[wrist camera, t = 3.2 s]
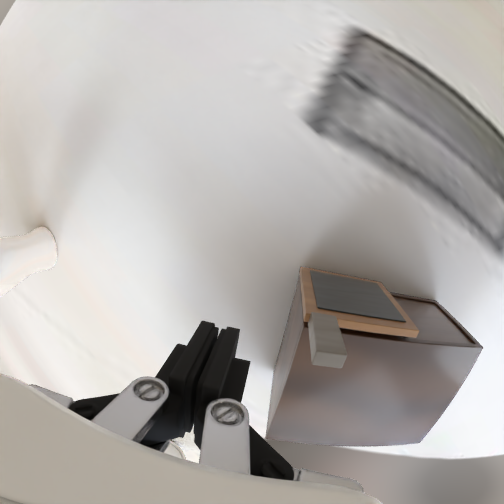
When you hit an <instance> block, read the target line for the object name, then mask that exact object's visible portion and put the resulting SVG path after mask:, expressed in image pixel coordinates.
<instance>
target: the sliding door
mask: <svg viewBox="0 0 504 504" xmlns="http://www.w3.org/2000/svg"><path fill="white" fill-rule="evenodd" d="M299 273H300V283H301V294H302V306H303V318H304V322H308V329H309V339H310V349H311V361H312V364H313V365H319V366H326V367H334V368H342V367H343V364H344V362H345V360H346V357H347V352H346V348H345V345H344V341H343V338H342V335H341V331H340V328H346V329H352V330H359V331H366V332H373V333H381V334H388V335H396V336H405V337H413V338H416V337H417V335H418V333H419V329H418V328H417V327H416V325H415V324H414V323H413V322H412V320H411V319H410V318H409V316H408V315H407V314H406V313H405V311H404V310H403V309H402V307H401V306H400V305H399V304H398V302H397V301H396V300H395V299H394V298H393V296H392V295H391V294H390V293H389V291H388V290H387V289H386V288H385V287H384V285H383V284H382V283H381V282H377V281H372V280H367V279H362V278H357V277H352V276H347V275H342V274H337V273H332V272H327V271H322V270H317V269H312V268H307V267H302V266H301V267H300V271H299Z"/></svg>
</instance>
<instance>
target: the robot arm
mask: <svg viewBox="0 0 504 504" xmlns="http://www.w3.org/2000/svg"><path fill="white" fill-rule="evenodd" d="M218 330H219V328H217V327H215V324H214V323H210V322H206V321H202V322H201V323H200V325H199V327H198V328H197V330H196V332H195V333H194V335H193V336H192V338H191V340H190V341H189V343H188V345H187V346H185V345H182V344H177V345H176V347H175V348H174V350H173V351H172V353H171V354H170V356H169V357H168V359H167V360H166V362H165V363H164V365H163V366H162V368H161V369H160V371H159V372H158V374H157V375H156V377H141V378H138V379H136V380H134V381H133V382H132V383H131V384H130V385H129V386H127V387H126V388H125V389H124V390H123V391H122V392H121V393H120V394H114V395H108V396H102V397H95V398H88V399H81V400H78V401H73V399H72V398H70V397H67V396H64V395H61V394H58V393H56V392H53V391H50V390H47V389H45V388H42V387H40V386H37V385H33V384H31V385H28V384H26V383H24V382H22V381H20V380H18V379H16V378H13V377H10V376H7V375H4V374H0V504H383V503H382V502H381V501H380V500H378V499H376V498H375V497H373V496H370V495H368V494H366V493H363V488H362V486H361V484H360V483H358V482H357V481H356V480H353V479H350V478H344V477H338V476H334V475H329V474H324V473H319V472H315V471H311V470H307V469H303V468H302V469H301V470H298V469H294V468H292V467H291V465H290V464H289V463H288V462H287V461H286V460H285V459H284V458H283V457H282V456H281V455H280V454H278V453H277V452H276V451H275V450H274V449H273V448H272V447H271V446H270V445H269V444H268V443H267V442H266V441H265V440H264V439H263V438H262V437H261V436H260V435H259V434H258V433H257V432H256V431H255V430H254V429H253V428H252V427H251V426H250V425H249V414H248V410H247V409H246V407H245V406H244V405H243V404H241V401H242V396H243V392H244V387H245V383H246V379H247V374H248V370H249V365H250V361H247V360H242V359H238V358H235V354H236V349H237V343H238V338H239V332H240V329H236V328H232V327H227V329H222V330H221V332H220V334H219V336H218ZM217 338H218V339H217ZM193 425H194V434H195V440H194V442H195V444H196V445H197V446H198V448H199V449H200V450H201V451H200V459H199V464H198V463H195V462H191V461H188V460H185V459H181V458H178V457H175V456H172V455H169V454H166V453H164V452H165V450H166V449H167V447H168V446H169V444H170V442H171V439H174V438H178V437H182V438H183V437H184V434H185V432H189V433H190V432H191V430H192V427H193Z"/></svg>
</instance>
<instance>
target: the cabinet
mask: <svg viewBox="0 0 504 504" xmlns="http://www.w3.org/2000/svg"><path fill="white" fill-rule="evenodd" d="M389 293H390V294H391V295H392V296H393V298H394V299H395V300H396V301H397V302H398V304H399V305H400V306H401V307H402V309H403V310H404V311H405V313H406V314H407V315H408V316H409V318H410V319H411V320H412V322H413V323H414V324H415V325H416V327H417V328H418V329H419V333H418V335H417V337H416V338H413V337H405V336H396V335H388V334H381V333H373V332H366V331H359V330H352V329H346V328H340V331H341V335H342V338H343V341H344V345H345V348H346V352H347V357H346V360H345V362H344V364H343V367H342V368H334V367H326V366H319V365H313V364H312V361H311V349H310V339H309V329H308V322H304V318H303V306H302V294H301V283H300V275H299V278H298V282H297V286H296V290H295V294H294V298H293V302H292V306H291V310H290V314H289V318H288V321H287V325H286V329H285V333H284V336H283V340H282V344H281V347H280V351H279V355H278V358H277V362H276V365H275V369H274V373H273V382H272V390H271V398H270V407H269V415H268V422H267V430H266V437H265V438H266V439H272V440H278V441H286V442H294V443H303V444H315V445H329V446H389V445H404V444H414V443H420V442H421V441H422V439H423V438H424V437H425V436H426V435H427V433H428V432H429V431H430V430H431V428H432V427H433V426H434V424H435V423H436V422H437V421H438V419H439V418H440V417H441V415H442V414H443V412H444V411H445V410H446V408H447V407H448V405H449V404H450V402H451V401H452V400H453V398H454V397H455V395H456V394H457V392H458V390H459V389H460V387H461V386H462V384H463V382H464V381H465V379H466V378H467V376H468V374H469V372H470V371H471V369H472V367H473V365H474V364H475V362H476V360H477V358H478V356H479V354H480V352H481V351H482V349H483V347H482V346H481V345H480V344H479V342H478V341H477V340H476V339H475V338H474V337H473V336H472V335H471V334H470V333H469V332H468V331H467V330H466V329H465V328H464V327H463V326H462V325H461V324H460V323H459V322H458V321H457V320H456V319H455V318H454V317H453V316H452V315H451V314H450V313H449V312H448V311H447V310H446V309H445V308H444V307H443V306H441V305H440V304H439V303H438V302H437V301H435V300H429V299H424V298H418V297H413V296H407V295H402V294H396V293H391V292H389Z"/></svg>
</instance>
